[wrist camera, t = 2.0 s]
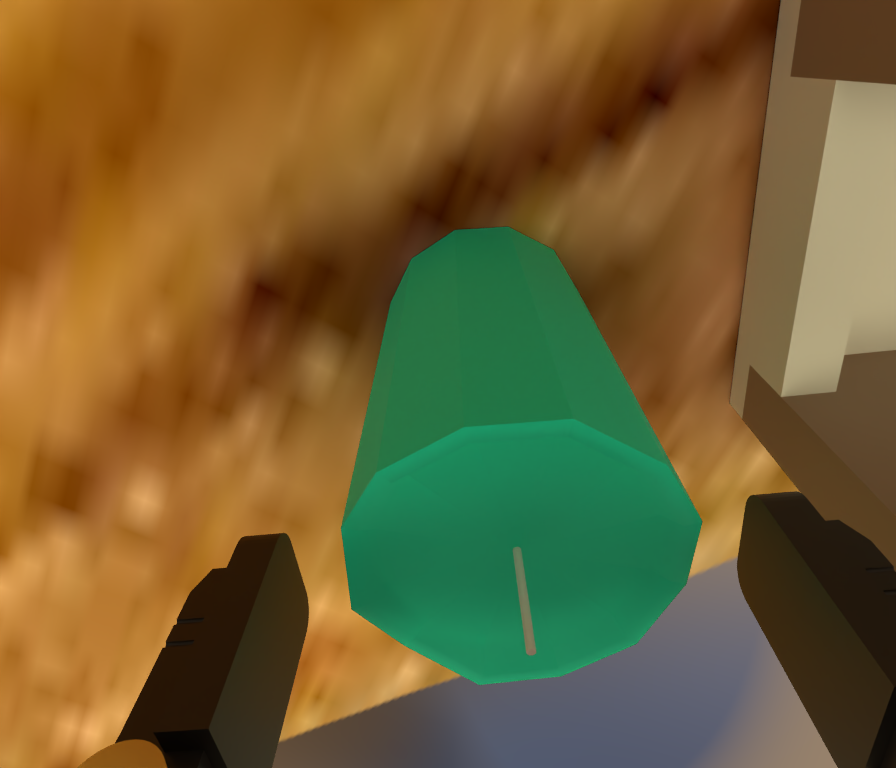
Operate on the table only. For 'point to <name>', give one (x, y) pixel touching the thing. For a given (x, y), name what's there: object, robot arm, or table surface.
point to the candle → (508, 473)
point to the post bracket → (827, 265)
